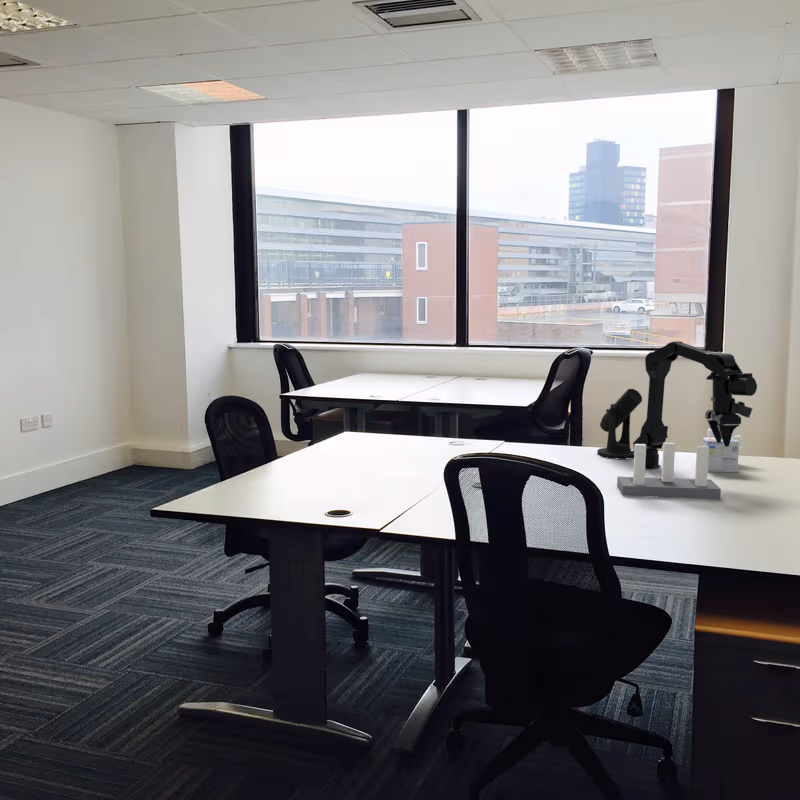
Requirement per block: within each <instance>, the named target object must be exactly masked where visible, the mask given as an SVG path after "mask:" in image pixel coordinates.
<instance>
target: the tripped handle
mask: <svg viewBox="0 0 800 800" xmlns="http://www.w3.org/2000/svg"><path fill="white" fill-rule="evenodd" d="M675 453H676V444H675V442H666V441H665V442H664V443H663V446H662V463H661V464H662V465H661V467H662V468H661V478H662V481H663V482H673V478H674V473H675V471H674V470H675Z"/></svg>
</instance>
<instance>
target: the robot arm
mask: <svg viewBox="0 0 800 800" xmlns="http://www.w3.org/2000/svg"><path fill="white" fill-rule="evenodd" d="M679 357H681V358H684V359H687V360H689V361H693V362H695V363H699V364H701V365H703V366H704V368H705V369H707V370H709V371H710V372H711V373H710V374H709V375H707V377H706V380H710V381H712V397H710V401H711V402H712V409H707V410H706V411H705V413H704V414H705V416H704V418H705V419H706V422H707V425H708V426H709V428H711V430H712V433H713V435H714V437H715V439H716V441H717V443H720V442H721V438H722V440H723V443H724V445H725V447H728V446H729V444H730V440H731V437H732V433H733V434H734V430H735V429H737V428H738V427H740V425H741V424H742V417H744V418H748V419H750V416H751V415H752V411H753V409H754V408H752V407H749V406H746V405H745V402H742V401H740V400H738V401H737V402H736V399H735V397H733V396H746V397H751V396H754V395H755V394H756V393H757V388H758V383H757V382H756V381H757V380H756V379H755V378H754V377H753V373H752V372H747V373H744V372H743V371H742V369H741V368H740V367H739V365H738V364H737V362H736V359H735V356H734V355H733V354H731V353H726V352H725V353H724V352H713V351H709V350H705V349H702V348H699V347H697V346H693V345H692V344H691V345H690V344H687V343H685V342H683V341H680V340H679V341H678V340H677V341H676V340H675V341H670V342H669V343H667V344H665V345H664V346H661V347H660V348H657V349H656V350H654V351H650V352H649V353H648V354H646V355H645V357H644V358H645V359H644V362H645V363H644V364H645V365H644V366H645V371H646V373H647V375H648V378H649V379H648V380H649V381H648V398H647V409H646V410H647V411H646V418H645V419H646V420H645V421H644V423H643V425H642V426H641V430H640V432H639V433H640V434H639V436H638V438H636V439H635V440H634V441H633V442H632V444H633V450H634V449H635V444H645V445H646V460H645V469H649V470H652V469H654V468H655V469H656V468H659V467H661V465H660V464H659V462H660V461H659V460H660V454H659V450H661V449H663V443H664V442H666V440H667V438H668V429H669V426H668V425H665V424H664V421H663V410H664V409H663V408H664V398H665V396H664V394H665V383H666V381H665V380H666V377H667V376H668V374H669V373H670V372H671V367H672V363H673V362H674V361H676V360H677V359H678V358H679ZM741 416H742V417H741Z"/></svg>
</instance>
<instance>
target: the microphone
mask: <svg viewBox="0 0 800 800" xmlns="http://www.w3.org/2000/svg"><path fill="white" fill-rule="evenodd" d="M642 401H643V395H641V393H640V392H639V391H638V390H636V389H634V388H628V389H626V391H625V392H624V393H622V395H621V396H620V397H619V398H618V399H617V400H616V402H614V403H611V404H610V407H609V408H607V409H606V410H605V413H604V415H603V416H602V417H601V420H600V423H599V426H600V428H601V429H602V430H603V432H606V433H607V443H606V447H602V448H599V449H597V456H599V455H600V456H599V457H601V456H602V457H601V458H605V457H608V458H607V459H611V458H618V459H617V460H627V459H626V458H634V448H633V449H632V448H631V441H630V440H631V438H630V436H631V435H630V428H631V426H630V425H631V414H632V413H633V412H634V410H635V409H636V408H637V407H638V406H640V405H641V403H642ZM621 425H622V428H621V435H620V439H619V440H618V441H617V435H616V433H617V432H616V429H618V427H620V426H621ZM631 450H633V451H631Z"/></svg>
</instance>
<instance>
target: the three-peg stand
mask: <svg viewBox="0 0 800 800" xmlns="http://www.w3.org/2000/svg"><path fill="white" fill-rule="evenodd" d="M633 450H634V459H633V476H617V479H616V487H617V489H618V488H619V489H618V491H619V493H620V494H621V496H622V495H623V496H624V497H645V496H655V497H656V496H657V497H656V498H675V497H684V498H685V497H687V498H685V499H704V500H705V499H709V500H712V499H713V500H721V495H722V494H721V493H722V488H721V487H720V486H718V485H717V484H716V483H715V482H714V480H712V478H711V479H708V474H709V472H708V459H709V447H708V446H702V445H696V456H695V457H696V458H695V475H694V476H695V477H694V478H676V477H673V482H663V481H662V477H645V476H646V468H645V460H646V445H645V444H635V449H634V448H633ZM655 497H654V498H655ZM684 498H683V499H684Z"/></svg>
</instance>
